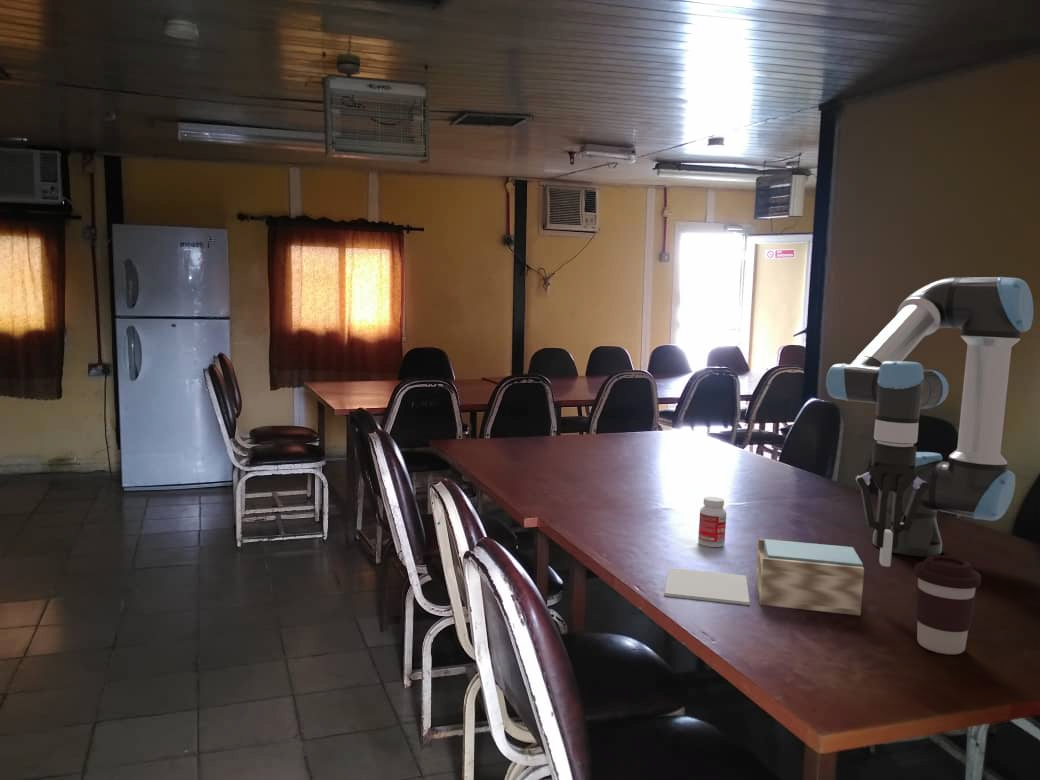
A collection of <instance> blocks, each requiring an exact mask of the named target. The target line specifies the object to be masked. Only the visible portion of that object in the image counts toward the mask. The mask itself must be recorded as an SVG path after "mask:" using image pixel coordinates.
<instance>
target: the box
mask: <svg viewBox="0 0 1040 780" xmlns="http://www.w3.org/2000/svg"><path fill="white" fill-rule="evenodd" d="M764 539H765V538H758V544H757V547H758V548H757V559H756V560H757V561H756V575H755V582H756V583H755V584H756V589H757V594H758V600H759V605H762V606H769V607H770V606H771V607H778V608H789V609H797V610H804V611H805V610H807V611H816V612H817V611H818V612H827V613H835V614H844V615H852V616H861V611H862V598H863V587H864V576H865V575H864V574H865V568H864V566H863V567H859V566H848V565H838V564H827V563H817V562H807V561H796V560H786V559H775V558H765V554H764Z"/></svg>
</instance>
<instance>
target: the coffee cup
mask: <svg viewBox="0 0 1040 780" xmlns="http://www.w3.org/2000/svg"><path fill="white" fill-rule="evenodd" d="M914 576H915V577H916V578H917V584H916V594H915V595H916V598H915V599H916V601H915V602H916V605H915V607H916V608H915V609H916V610H915V616H916V617H915V618H916V620H917V626H916V627H917V631H916V632H917V633H916V635H917V636H916V640H917V643H918V644H919V645H920V646H921V647H923V648H924V649H926V650H929V651H932V652H933V653H938V654H943V655H960V654H962V653H964V651H965V650H966V646H967V639H968V635H969V634H968V633H969V630H970V629H971V626H972V619H973V614H974V608H975V602H976V594H975V593H976V589H977V588H979V587H980V585H981V580H982V575H981V574H980V573H979V572H978V571H976V570H974V569H973V566H972V565H971V563H970V562H969V561H966V560H964V559H962V558H958V557H953V556H947V555H940V554H939V555H935V556H926V557H925V560H924V561H920V562H918V563H916V564H915V566H914Z"/></svg>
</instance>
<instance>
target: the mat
mask: <svg viewBox="0 0 1040 780" xmlns="http://www.w3.org/2000/svg"><path fill="white" fill-rule="evenodd" d="M665 580H666V582H665V587H664V588H665V589H664V594H663V595H664V597H671V598H681V599H689V600H696V601H697V600H699V601H707V602H716V603H717V602H718V603H726V604H735V605H744V606H750V604H751V603H750V602H751V601H750V593H749V587H748V581H747V575H746V574H745V575H744V574H734V573H727V572H726V573H724V572H717V571H716V572H715V571H714V572H713V571H705V570H696V569H695V570H694V569H686V568H685V569H683V568H675V567H668V568H667V573H666V579H665Z"/></svg>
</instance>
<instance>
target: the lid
mask: <svg viewBox="0 0 1040 780" xmlns="http://www.w3.org/2000/svg"><path fill="white" fill-rule="evenodd" d="M763 539H764V554H765V558H775V559H786V560H796V561H807V562H817V563H827V564H838V565H848V566H859V567H863V568H864V564H863V562H862V560H861V559H860V557H859V555H858V554H857V552H856V550H855V547H852V546H845V545H844V546H843V545H834V544H833V545H832V544H823V543H821V544H819V543H810V542H800V541H789V540H778V539H769V538H768V539H767V538H763Z"/></svg>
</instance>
